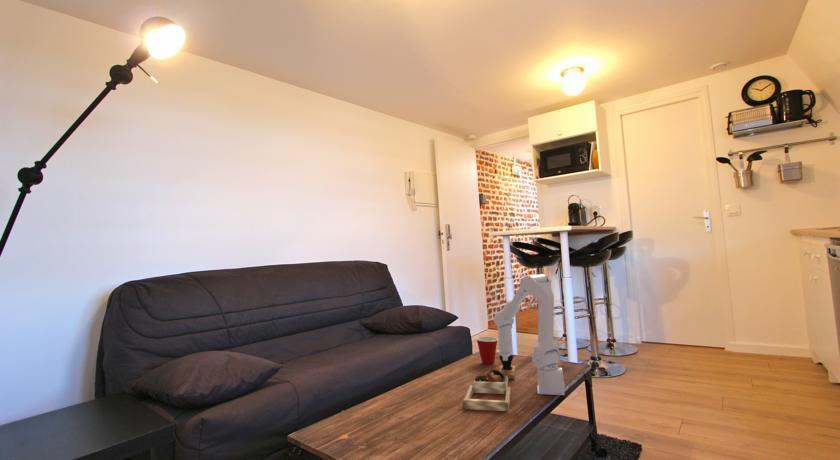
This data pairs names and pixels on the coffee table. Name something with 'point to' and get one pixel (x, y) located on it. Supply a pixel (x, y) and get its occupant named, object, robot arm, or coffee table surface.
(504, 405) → the frame
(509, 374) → the pull frame
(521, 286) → the robot arm
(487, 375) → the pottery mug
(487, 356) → the plastic cup
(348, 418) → the coffee table surface
